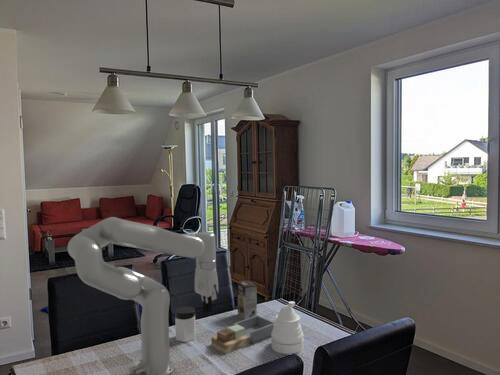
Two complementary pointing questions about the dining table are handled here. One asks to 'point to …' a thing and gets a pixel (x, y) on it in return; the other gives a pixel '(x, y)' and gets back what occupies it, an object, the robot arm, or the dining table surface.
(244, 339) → the board
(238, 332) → the tile far
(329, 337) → the dining table surface
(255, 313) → the coffee box
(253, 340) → the tray
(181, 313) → the jar
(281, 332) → the honey pot
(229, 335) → the tile near
